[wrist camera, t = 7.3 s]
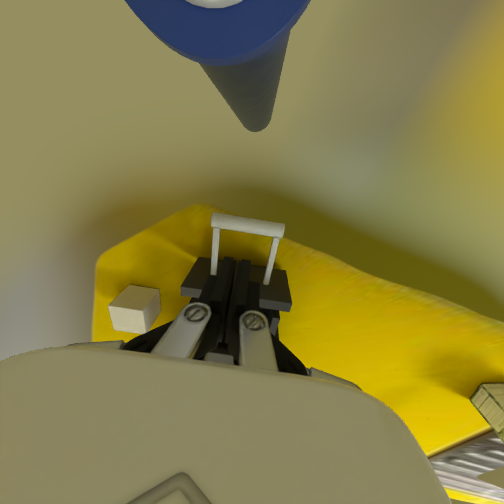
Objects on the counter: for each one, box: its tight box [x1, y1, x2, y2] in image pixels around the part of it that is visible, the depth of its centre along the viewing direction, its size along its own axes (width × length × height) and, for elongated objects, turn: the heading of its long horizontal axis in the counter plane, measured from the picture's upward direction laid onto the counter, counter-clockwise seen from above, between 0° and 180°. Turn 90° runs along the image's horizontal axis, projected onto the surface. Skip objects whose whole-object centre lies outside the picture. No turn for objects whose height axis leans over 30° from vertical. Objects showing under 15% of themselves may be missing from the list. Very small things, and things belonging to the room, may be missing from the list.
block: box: [108, 285, 161, 334], centre depth 28 cm, size 4×4×4 cm
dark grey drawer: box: [181, 213, 292, 349], centre depth 24 cm, size 21×11×6 cm, turn 171°
